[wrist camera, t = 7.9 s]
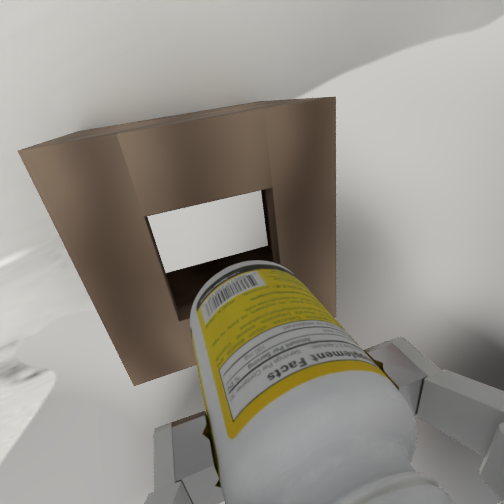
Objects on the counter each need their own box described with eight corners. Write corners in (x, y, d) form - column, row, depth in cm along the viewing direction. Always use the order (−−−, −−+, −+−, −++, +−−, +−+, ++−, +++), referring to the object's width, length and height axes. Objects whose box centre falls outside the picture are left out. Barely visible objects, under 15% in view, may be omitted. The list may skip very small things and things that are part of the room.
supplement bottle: (277, 356, 16) (426, 650, 7) (174, 350, 13) (215, 762, 5) (319, 267, 14) (581, 514, 5) (209, 243, 12) (359, 593, 3)
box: (260, 101, 28) (335, 96, 16) (276, 250, 35) (336, 317, 24) (78, 131, 24) (17, 150, 13) (139, 288, 32) (134, 386, 21)
